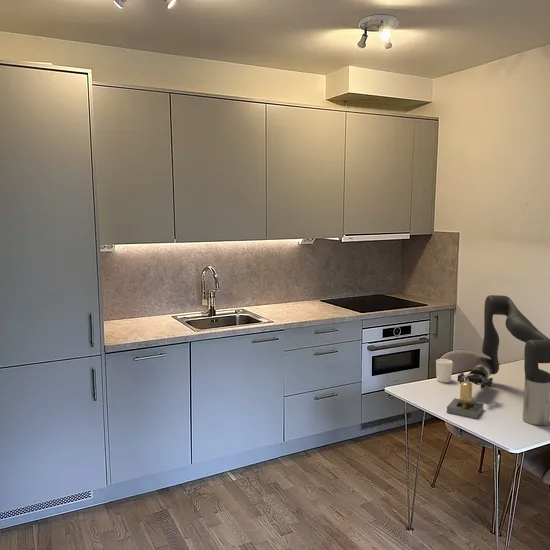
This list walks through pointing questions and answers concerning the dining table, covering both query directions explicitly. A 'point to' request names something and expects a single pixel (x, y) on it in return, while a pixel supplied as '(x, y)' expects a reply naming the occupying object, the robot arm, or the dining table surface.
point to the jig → (465, 409)
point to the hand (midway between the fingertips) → (471, 384)
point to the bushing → (466, 395)
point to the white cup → (443, 370)
